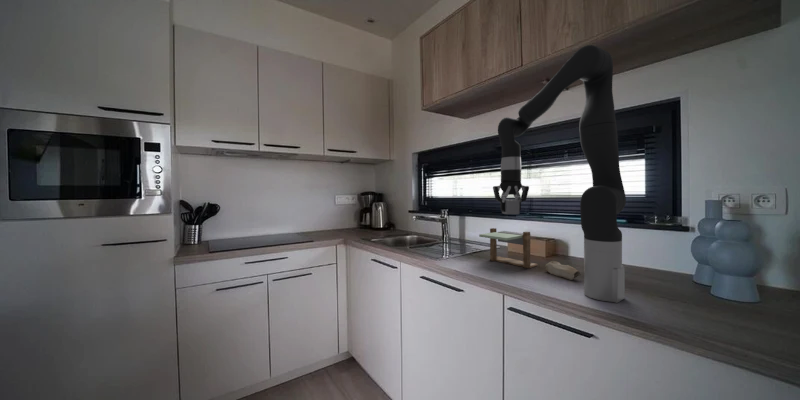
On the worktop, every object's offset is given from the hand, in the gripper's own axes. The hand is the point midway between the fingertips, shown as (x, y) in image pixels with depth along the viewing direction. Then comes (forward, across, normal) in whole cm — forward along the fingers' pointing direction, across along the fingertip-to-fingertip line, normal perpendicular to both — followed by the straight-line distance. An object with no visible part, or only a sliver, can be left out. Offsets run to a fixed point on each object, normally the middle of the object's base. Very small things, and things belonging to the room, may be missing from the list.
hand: (510, 211), depth 112 cm
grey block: (+1, 0, 0) cm, 1 cm away
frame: (+24, +6, +13) cm, 28 cm away
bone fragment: (+24, +18, -6) cm, 31 cm away
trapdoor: (+15, +2, +10) cm, 18 cm away
